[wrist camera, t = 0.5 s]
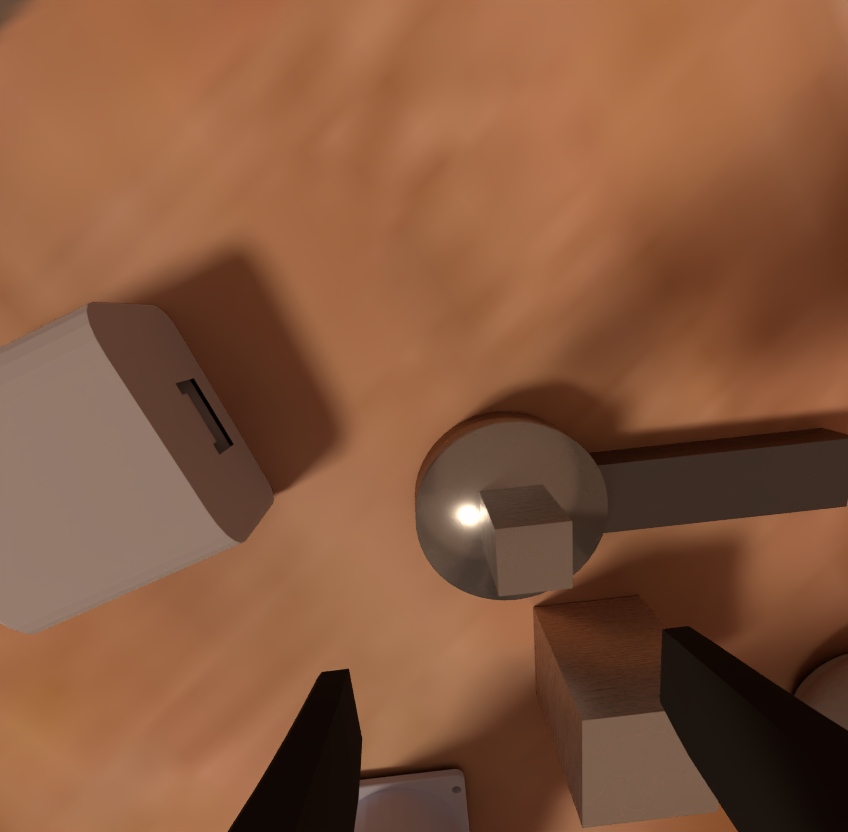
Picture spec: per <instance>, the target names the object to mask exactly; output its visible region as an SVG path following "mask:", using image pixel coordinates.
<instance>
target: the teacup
mask: <svg viewBox="0 0 848 832" xmlns="http://www.w3.org/2000/svg"><path fill="white" fill-rule="evenodd" d="M794 696H795V697H796V698H798V699H799V700H801V701H802V702H804V703H805V704H807V705H808V706H810V707H812V708H813V709H815V710H816V711H818V712H819V713H821V714H822V715H824V716H826V717H827V718H829V719H830V720H832V721H834V722H835V723H837V724H838V725H840V726H842V727H843V728H845V729H846V730H848V654H845V655H841V656H838V657H836V658H833V659H831V660H830V661H828V662H826V663H824V664H822V665H821V666H819V667H818V668H817V669H815V670H814V671H813V672H812V673H811V674H810V675H808V676H807V677H806V678H805V680H804V681H803V682H802V683H801V684H800V686H799V687H798V689H797V690H796V692H795V694H794Z"/></svg>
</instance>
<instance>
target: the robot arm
mask: <svg viewBox="0 0 848 832" xmlns="http://www.w3.org/2000/svg"><path fill="white" fill-rule="evenodd" d="M660 703H661V705H662V707H663V709H664V711H665V713H666V715H667V717H668V718H669V720H670V722H671V724H672V726H673V728H674V730H675V732H676V734H677V736H678V737H679V739H680V741H681V743H682V745H683V747H684V748H685V750H686V752H687V754H688V756H689V757H690V759H691V760H692V762H693V763H694V765H695V767H696V768H697V770H698V771H699V773H700V774H701V776H702V777H703V779H704V780H705V782H706V784H707V785H708V787H709V788H710V790H711V791H712V793H713V794H714V796H715V797H716V799H717V800H718V802H719V803H720V805H721V806H722V808H723V810H724V811H725V813H726V814H727V816H728V817H729V819H730V820H731V822H732V823H733V825H734V826H735V828H736V829H737V831H738V832H848V730H846V729H845V728H843V727H842V726H840V725H838V724H837V723H835V722H834V721H832V720H830V719H829V718H827V717H826V716H824V715H822V714H821V713H819V712H818V711H816V710H815V709H813V708H812V707H810V706H808V705H807V704H805V703H804V702H802V701H801V700H799V699H798V698H796V697H795V696H793V695H792V694H790V693H788V692H787V691H785V690H784V689H782V688H781V687H779V686H778V685H776V684H775V683H773V682H772V681H770V680H769V679H767V678H766V677H764V676H763V675H761V674H760V673H758V672H757V671H755V670H754V669H752V668H751V667H749V666H748V665H746V664H745V663H743V662H742V661H740V660H739V659H737V658H736V657H734V656H733V655H731V654H730V653H728V652H727V651H725V650H724V649H723V648H721V647H720V646H718V645H717V644H715V643H714V642H712V641H711V640H709V639H708V638H706V637H704V636H703V635H701V634H700V633H698V632H697V631H695V630H694V629H692V628H691V627H689V626H686V627H678V628H670V629H662V646H661V675H660ZM361 752H362V736H361V730H360V725H359V720H358V715H357V709H356V704H355V699H354V694H353V688H352V683H351V678H350V673H349V669H343V670H335V671H327V672H322V673H321V674H320V675H319V676H318V678H317V680H316V682H315V684H314V686H313V688H312V689H311V691H310V693H309V695H308V697H307V699H306V701H305V703H304V705H303V707H302V708H301V710H300V712H299V714H298V716H297V718H296V719H295V721H294V723H293V725H292V727H291V728H290V730H289V732H288V734H287V736H286V737H285V739H284V741H283V743H282V744H281V746H280V748H279V749H278V751H277V753H276V754H275V756H274V758H273V760H272V761H271V763H270V765H269V766H268V768H267V770H266V771H265V773H264V775H263V777H262V778H261V780H260V782H259V783H258V785H257V786H256V788H255V790H254V791H253V793H252V794H251V796H250V798H249V799H248V801H247V802H246V804H245V805H244V807H243V808H242V810H241V812H240V813H239V815H238V816H237V818H236V819H235V821H234V823H233V824H232V826H231V827H230V829H229V830H228V832H470V831H469V820H468V810H467V800H466V790H465V780H464V774H463V772H462V771H461V770H459V769H449V770H441V771H432V772H424V773H415V774H407V775H398V776H389V777H381V778H372V779H364V780H360V770H361Z"/></svg>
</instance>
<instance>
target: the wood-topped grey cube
mask: <svg viewBox="0 0 848 832" xmlns="http://www.w3.org/2000/svg"><path fill="white" fill-rule="evenodd" d="M533 615H534V642H535V668H536V693H537V696H538V699H539V702H540V705H541V708H542V711H543V714H544V717H545V720H546V723H547V726H548V728H549V731H550V734H551V737H552V740H553V743H554V746H555V749H556V752H557V755H558V758H559V761H560V764H561V767H562V769H563V772H564V775H565V778H566V781H567V784H568V787H569V790H570V793H571V796H572V799H573V802H574V805H575V807H576V810H577V813H578V816H579V819H580V822H581V825H582V828H586V827H595V826H603V825H611V824H620V823H628V822H637V821H645V820H653V819H662V818H670V817H678V816H687V815H695V814H703V813H712V812H718V803H719V802H718V800H717V799H716V797H715V796H714V794H713V793H712V791H711V790H710V788H709V787H708V785H707V784H706V782H705V780H704V779H703V777H702V776H701V774H700V773H699V771H698V770H697V768H696V767H695V765H694V763H693V762H692V760H691V759H690V757H689V756H688V754H687V752H686V750H685V748H684V747H683V745H682V743H681V741H680V739H679V737H678V736H677V734H676V732H675V730H674V728H673V726H672V724H671V722H670V720H669V718H668V717H667V715H666V713H665V711H664V709H663V707H662V705H661V703H660V675H661V646H662V629H667V628H666V627H665V626H664V625H663V623H662V622H661V621H660V620H659V619H658V617H657V616H656V615H655V614H654V613H653V611H652V610H651V609H650V608H649V607H648V605H647V604H646V603H645V602H644V601H643V599H642V598H641V597H640V596H631V597H622V598H613V599H604V600H595V601H586V602H577V603H568V604H559V605H550V606H541V607H533Z"/></svg>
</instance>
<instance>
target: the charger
mask: <svg viewBox="0 0 848 832" xmlns="http://www.w3.org/2000/svg"><path fill="white" fill-rule="evenodd" d="M193 378H194V379H195V381H196V383H197V384H198V386H199V388H200V389H201V391H202V393H203V394H204V396H205V398H206V399H207V401H208V402H209V404H210V406H211V407H212V409H213V411H214V412H215V414H216V416H217V417H218V419H219V421H220V422H221V424H222V426H223V427H224V429H225V431H226V432H227V434H228V436H229V437H230V439H231V441H232V442H233V444H234V445H232V446H231V447H230V445H229V443H228V442H227V440H226V438H225V437H224V435H223V433H222V432H221V430H220V428H219V427H218V425H217V424H216V422H215V420H214V419H213V417H212V415H211V414H210V412H209V410H208V409H207V407H206V405H205V404H204V402H203V401H202V399H201V397H200V396H199V394H198V392H197V391H196V389H195V387H194V386H193V384H192V382H191V381H190V379H193ZM273 501H274V497H273V491H272V488H271V486H270V484H269V482H268V480H267V479H266V477H265V475H264V474H263V472H262V470H261V468H260V467H259V465H258V463H257V462H256V460H255V458H254V457H253V455H252V453H251V452H250V450H249V448H248V447H247V445H246V443H245V442H244V440H243V438H242V437H241V435H240V433H239V431H238V430H237V428H236V426H235V425H234V423H233V421H232V420H231V418H230V416H229V415H228V413H227V411H226V410H225V408H224V406H223V405H222V403H221V401H220V400H219V398H218V396H217V395H216V393H215V391H214V390H213V388H212V386H211V385H210V383H209V381H208V379H207V378H206V376H205V374H204V373H203V371H202V369H201V368H200V366H199V364H198V363H197V361H196V359H195V358H194V356H193V354H192V353H191V351H190V349H189V348H188V346H187V344H186V343H185V341H184V339H183V338H182V336H181V334H180V333H179V331H178V329H177V328H176V326H175V325H174V323H173V321H172V320H171V319H170V318H169V316H168V315H167V314H166V313H165V312H164V311H162V310H161V309H160V308H159V307H157V306H154V305H145V304H126V303H107V302H91V303H89V304H87V305H85V306H83V307H81V308H79V309H77V310H75V311H73V312H71V313H69V314H67V315H65V316H63V317H61V318H59V319H57V320H55V321H53V322H51V323H49V324H47V325H45V326H43V327H41V328H39V329H37V330H35V331H33V332H31V333H29V334H27V335H25V336H23V337H21V338H19V339H17V340H15V341H13V342H11V343H8V344H6V345H4V346H2V347H0V623H1V624H3V625H5V626H7V627H9V628H11V629H13V630H16V631H19V632H22V633H25V634H36V633H38V632H41V631H43V630H45V629H47V628H50V627H52V626H54V625H56V624H59V623H61V622H63V621H66V620H68V619H70V618H72V617H75V616H77V615H79V614H81V613H84V612H86V611H88V610H91V609H93V608H95V607H97V606H100V605H102V604H104V603H106V602H109V601H111V600H113V599H115V598H118V597H120V596H122V595H125V594H127V593H129V592H131V591H134V590H136V589H138V588H140V587H143V586H145V585H147V584H150V583H152V582H154V581H156V580H159V579H161V578H163V577H165V576H168V575H170V574H172V573H174V572H177V571H179V570H181V569H184V568H186V567H188V566H190V565H193V564H195V563H197V562H199V561H202V560H204V559H206V558H209V557H211V556H213V555H215V554H218V553H220V552H222V551H224V550H227V549H229V548H231V547H234V546H236V545H238V544H240V543H242V542H244V541H246V540H247V538H248V537H249V536H250V534H251V533H252V531H253V530H254V529H255V527H256V526H257V525H258V523H259V522H260V520H261V519H262V518H263V516H264V515H265V514H266V512H267V511H268V509H269V508H270V507H271V505H272V504H273Z"/></svg>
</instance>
